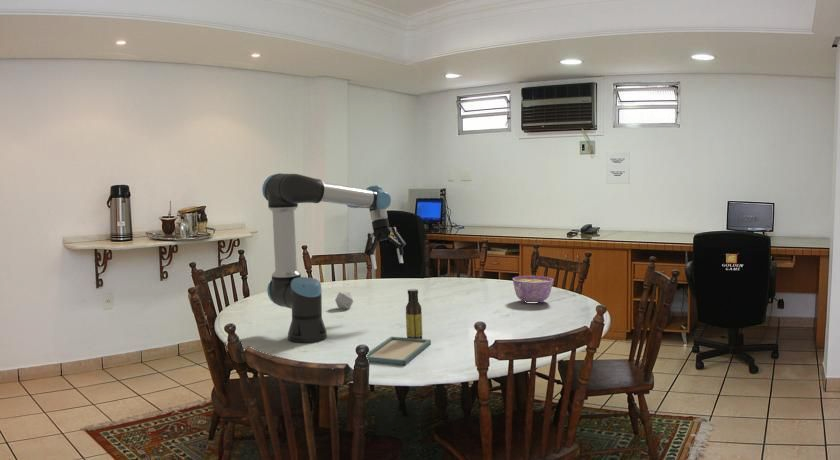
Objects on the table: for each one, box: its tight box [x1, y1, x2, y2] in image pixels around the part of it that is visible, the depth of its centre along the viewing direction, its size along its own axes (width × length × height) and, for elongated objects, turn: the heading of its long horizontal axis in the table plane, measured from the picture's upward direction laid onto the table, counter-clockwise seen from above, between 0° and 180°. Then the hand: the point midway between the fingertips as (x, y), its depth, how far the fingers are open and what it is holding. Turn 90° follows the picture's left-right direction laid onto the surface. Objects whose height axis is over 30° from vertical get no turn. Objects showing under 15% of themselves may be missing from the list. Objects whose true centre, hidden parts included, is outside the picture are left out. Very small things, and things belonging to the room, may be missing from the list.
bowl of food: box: [512, 275, 554, 303], centre depth 320 cm, size 20×20×12 cm
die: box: [334, 291, 354, 310], centre depth 308 cm, size 8×9×10 cm
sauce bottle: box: [405, 288, 424, 339], centre depth 250 cm, size 6×6×20 cm
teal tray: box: [367, 336, 432, 367], centre depth 234 cm, size 28×16×2 cm, turn 161°
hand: (388, 266), depth 289 cm, fingers open, 13 cm apart
